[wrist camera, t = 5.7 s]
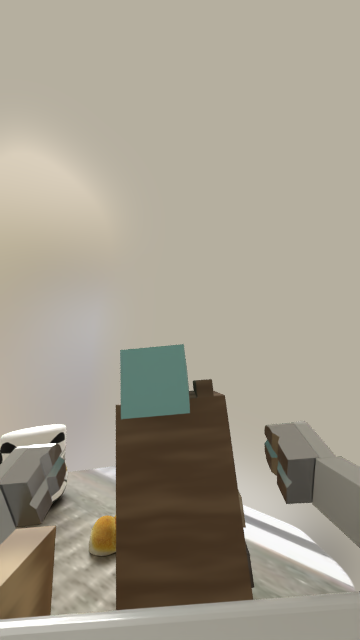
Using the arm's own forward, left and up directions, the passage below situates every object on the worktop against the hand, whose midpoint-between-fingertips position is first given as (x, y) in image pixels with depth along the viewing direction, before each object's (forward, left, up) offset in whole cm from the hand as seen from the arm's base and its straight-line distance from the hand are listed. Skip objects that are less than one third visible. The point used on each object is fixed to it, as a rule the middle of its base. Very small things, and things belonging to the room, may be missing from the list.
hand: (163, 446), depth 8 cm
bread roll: (+17, +39, -26) cm, 50 cm away
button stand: (+12, +13, -25) cm, 31 cm away
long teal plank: (+10, +11, +1) cm, 15 cm away
